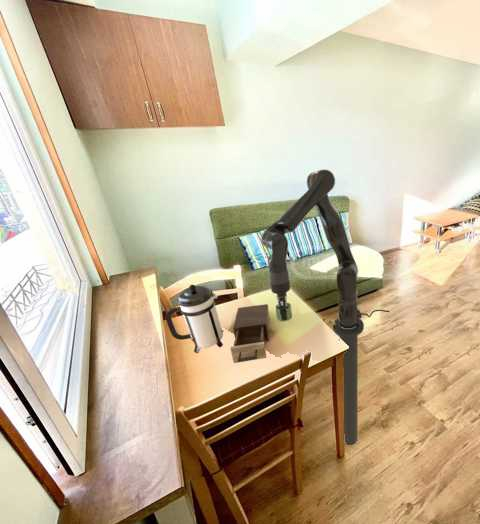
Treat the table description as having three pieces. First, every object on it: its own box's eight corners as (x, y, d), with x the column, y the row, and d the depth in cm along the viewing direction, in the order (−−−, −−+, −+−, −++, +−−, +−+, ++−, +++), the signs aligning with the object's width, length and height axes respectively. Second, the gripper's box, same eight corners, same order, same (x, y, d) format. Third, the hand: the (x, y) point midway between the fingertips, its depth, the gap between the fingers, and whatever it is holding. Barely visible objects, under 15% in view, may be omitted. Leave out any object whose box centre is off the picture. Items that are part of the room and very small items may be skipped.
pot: (291, 312, 121) (290, 301, 119) (292, 320, 115) (291, 309, 113) (277, 314, 120) (275, 303, 118) (277, 322, 114) (275, 311, 112)
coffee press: (211, 326, 133) (194, 271, 119) (234, 337, 126) (220, 280, 112) (176, 349, 120) (153, 291, 106) (200, 363, 113) (179, 303, 99)
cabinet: (269, 340, 125) (266, 323, 121) (236, 345, 122) (232, 328, 118) (270, 319, 140) (267, 304, 136) (241, 323, 137) (238, 307, 133)
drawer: (265, 366, 109) (263, 351, 106) (231, 372, 106) (228, 357, 103) (267, 334, 127) (265, 321, 124) (238, 339, 125) (235, 325, 122)
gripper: (270, 273, 116) (275, 307, 123) (269, 289, 103) (275, 326, 110) (288, 271, 118) (292, 305, 124) (290, 286, 105) (294, 323, 111)
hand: (284, 314), depth 117 cm, fingers closed on pot, 6 cm apart
